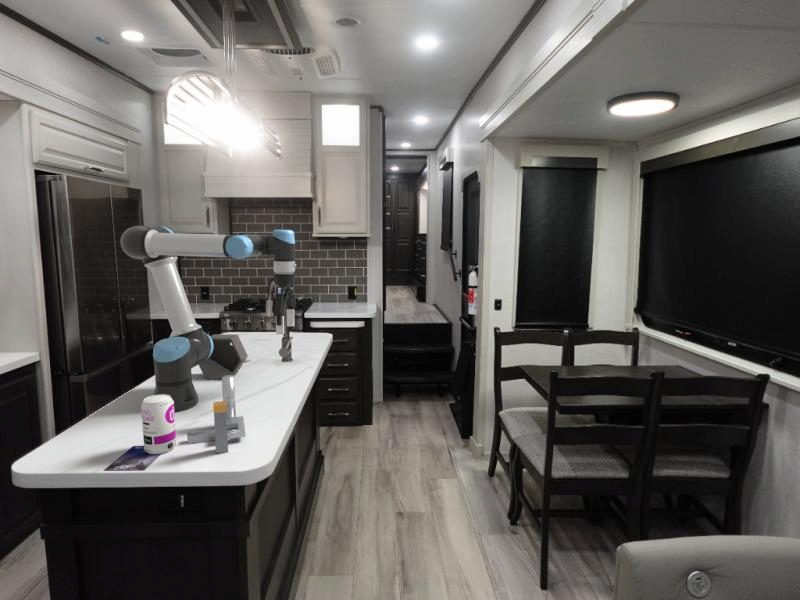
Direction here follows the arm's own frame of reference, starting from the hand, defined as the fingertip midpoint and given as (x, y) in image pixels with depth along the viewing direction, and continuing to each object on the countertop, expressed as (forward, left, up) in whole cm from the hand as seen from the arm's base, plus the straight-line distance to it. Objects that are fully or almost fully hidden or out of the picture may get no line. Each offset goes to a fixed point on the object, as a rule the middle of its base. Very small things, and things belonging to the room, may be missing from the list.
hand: (285, 330), depth 178 cm
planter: (-23, +32, -26) cm, 47 cm away
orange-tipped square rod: (-23, -40, -25) cm, 52 cm away
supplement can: (-40, -33, -26) cm, 57 cm away
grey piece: (-25, -27, -25) cm, 45 cm away
